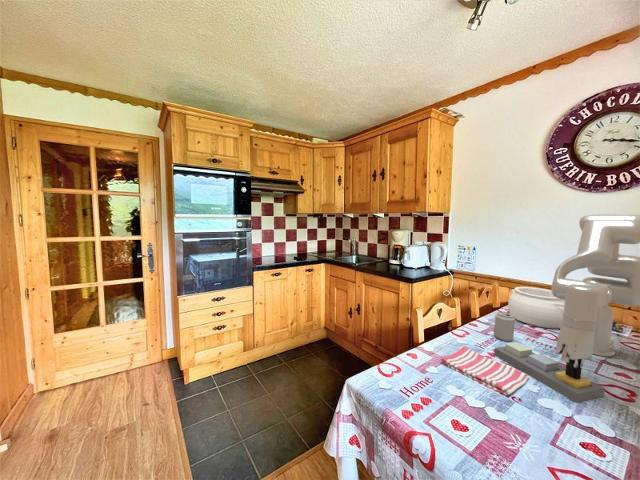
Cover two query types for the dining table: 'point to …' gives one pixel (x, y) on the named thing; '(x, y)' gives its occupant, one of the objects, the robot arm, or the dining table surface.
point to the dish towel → (485, 370)
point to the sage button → (518, 349)
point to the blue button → (543, 362)
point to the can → (504, 326)
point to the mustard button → (573, 380)
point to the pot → (536, 307)
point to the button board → (551, 378)
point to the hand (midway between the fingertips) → (572, 376)
